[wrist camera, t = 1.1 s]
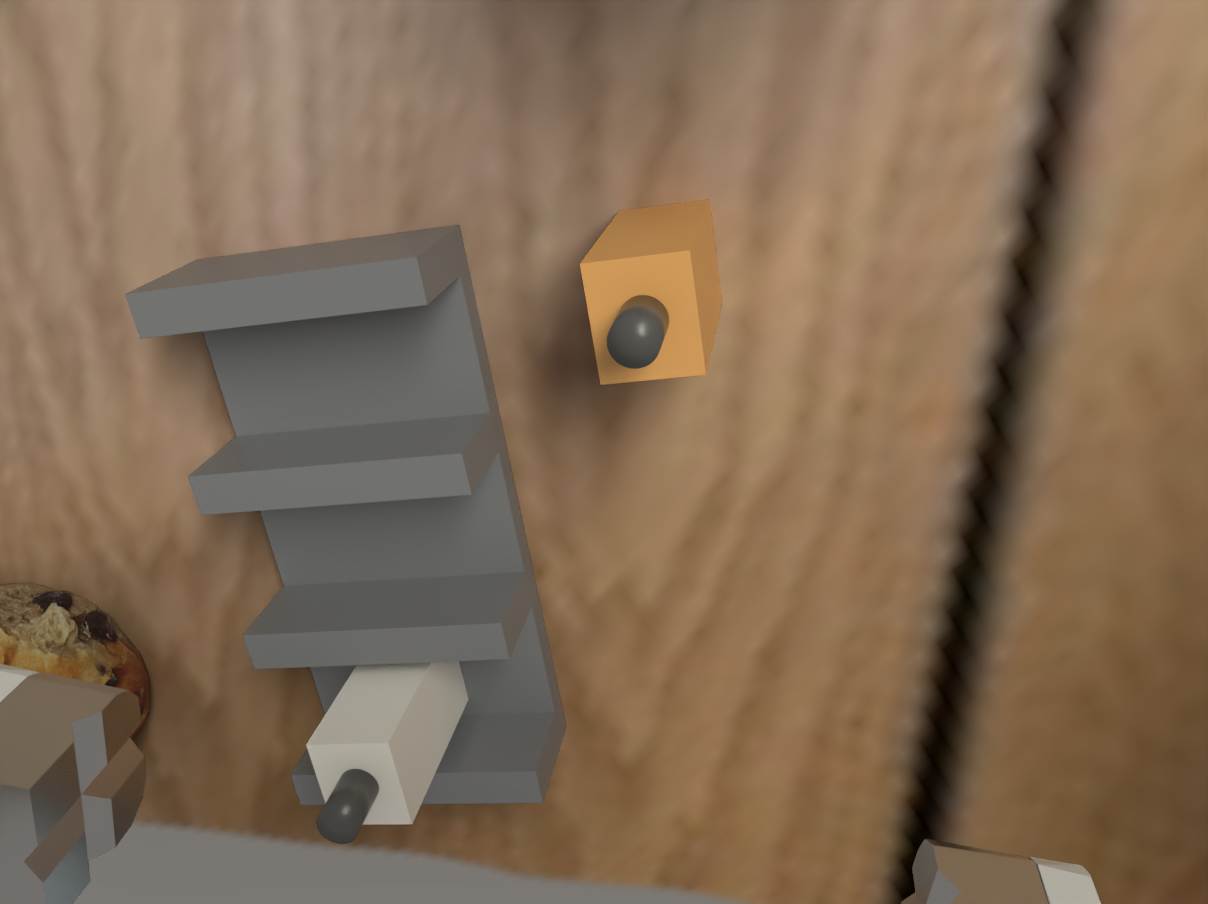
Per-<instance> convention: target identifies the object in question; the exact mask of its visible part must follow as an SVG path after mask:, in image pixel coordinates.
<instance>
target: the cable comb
mask: <svg viewBox="0 0 1208 904" xmlns="http://www.w3.org/2000/svg"><path fill="white" fill-rule="evenodd" d="M125 295H126V298H127V301H128V304H129V307H130V310H131V313H132V316H133V319H134V321H135V324H136V327H137V330H138V333H139V336H140V339H141V338H150V337H158V336H167V335H175V334H184V333H192V332H201V331H203V334H204V337H205V341H206V344H207V347H208V350H209V353H210V356H211V359H212V362H213V366H214V369H215V372H216V375H217V378H218V381H219V384H220V387H221V391H222V394H223V397H224V400H225V403H226V406H227V409H228V413H229V416H230V419H231V422H232V425H233V428H234V431H235V434H236V437H235V438H234V439H232V440H231V441H230V442H229V443H228V444H226V445H225V446H224V447H223V448H222V449H220V450H219V451H218V452H217V453H216V454H214V455H213V456H212V457H211V458H209V459H208V460H207V461H206V462H205V463H203V464H202V465H201V466H200V467H199V468H197V469H196V470H195V471H194V472H193V473H191V474H190V475H189V476H188V478H189V481H190V484H191V487H192V490H193V493H194V496H195V499H196V502H197V505H198V508H199V510H200V513H201V515H208V514H222V513H235V512H248V511H260V513H261V516H262V519H263V522H264V525H265V528H266V531H267V535H268V538H269V541H270V544H271V547H272V550H273V553H274V557H275V560H276V563H277V566H278V569H279V572H280V575H281V578H282V582H283V585H284V586H283V588H282V589H281V590H280V591H279V592H278V594H277V595H276V596H275V597H274V598H273V600H272V601H271V602H270V603H269V604H268V606H267V607H266V608H265V609H264V610H263V612H262V613H261V614H260V615H259V616H258V618H257V619H256V620H255V621H254V622H253V623H252V625H251V626H250V627H249V628H248V629H247V631H246V632H245V633H244V634H243V638H244V641H245V644H246V647H247V650H248V653H249V656H250V659H251V662H252V664H253V667H254V669H274V668H299V667H310V669H311V672H312V675H313V679H314V682H315V685H316V688H317V691H318V694H319V697H320V701H321V704H322V707H323V710H324V713H325V714H326V713H327V711H328V710H329V708H330V706H331V705H332V703H333V702H334V700H335V699H336V697H337V695H338V694H339V692H340V691H341V689H342V687H343V686H344V684H345V683H346V681H347V680H348V678H349V676H350V675H351V673H352V672H353V670H354V669H355V667H356V665H374V664H399V663H424V662H449V661H459V664H460V668H461V672H462V676H463V680H464V684H465V688H466V692H467V695H468V699H469V700H468V702H467V704H466V706H465V708H464V711H463V713H462V715H461V717H460V719H459V722H458V724H457V726H456V728H455V731H454V733H453V735H452V737H451V739H450V742H449V744H448V746H447V748H446V750H445V753H444V755H443V757H442V759H441V762H440V764H439V766H438V768H437V770H436V773H435V775H434V777H433V779H432V781H431V784H430V786H429V788H428V790H427V793H426V795H425V797H424V799H423V801H422V804H486V803H543V801H544V798H545V794H546V791H547V788H548V785H549V781H550V778H551V775H552V772H553V768H554V765H555V762H556V758H557V755H558V752H559V749H560V745H561V742H562V739H563V736H564V732H565V729H566V723H565V718H564V713H563V709H562V704H561V699H560V695H559V690H558V685H557V681H556V676H555V671H554V667H553V662H552V657H551V653H550V648H549V643H548V638H547V634H546V629H545V624H544V620H543V615H542V610H541V606H540V601H539V596H538V592H537V587H536V582H535V578H534V573H533V568H532V563H531V559H530V554H529V549H528V545H527V540H526V535H525V531H524V526H523V521H522V517H521V512H520V507H519V503H518V498H517V493H516V488H515V484H514V479H513V474H512V470H511V465H510V460H509V456H508V451H507V446H506V442H505V437H504V432H503V427H502V423H501V418H500V413H499V409H498V404H497V399H496V395H495V390H494V385H493V381H492V376H491V371H490V367H489V362H488V357H487V352H486V348H485V343H484V338H483V334H482V329H481V324H480V320H479V315H478V310H477V306H476V301H475V296H474V291H473V287H472V282H471V277H470V273H469V268H468V263H467V259H466V254H465V249H464V245H463V240H462V235H461V231H460V226H459V225H454V226H447V227H439V228H432V229H424V230H417V231H409V232H402V233H394V234H387V235H379V236H372V237H364V238H357V239H349V240H342V241H334V242H327V243H319V244H312V245H304V246H297V247H289V248H282V249H274V250H267V251H259V252H252V253H244V254H237V255H229V256H222V257H214V258H207V259H199V260H195V261H193V262H191V263H189V264H187V265H185V266H183V267H181V268H179V269H176V270H174V271H172V272H170V273H168V274H166V275H164V276H162V277H160V278H158V279H156V280H154V281H151V282H149V283H147V284H145V285H143V286H141V287H139V288H137V289H135V290H133V291H131V292H129V293H127V294H125ZM291 778H292V781H293V784H294V787H295V789H296V792H297V795H298V798H299V801H300V804H301V805H325V804H326V803H325V800H324V797H323V794H322V791H321V788H320V785H319V782H318V779H317V776H316V773H315V770H314V767H313V764H312V761H311V758H310V755H309V752H308V749H307V750H306V752H305V753H304V755H303V756H302V758H301V760H300V761H299V763H298V764H297V766H296V768H295V769H294V771H293V772H292V774H291Z"/></svg>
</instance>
